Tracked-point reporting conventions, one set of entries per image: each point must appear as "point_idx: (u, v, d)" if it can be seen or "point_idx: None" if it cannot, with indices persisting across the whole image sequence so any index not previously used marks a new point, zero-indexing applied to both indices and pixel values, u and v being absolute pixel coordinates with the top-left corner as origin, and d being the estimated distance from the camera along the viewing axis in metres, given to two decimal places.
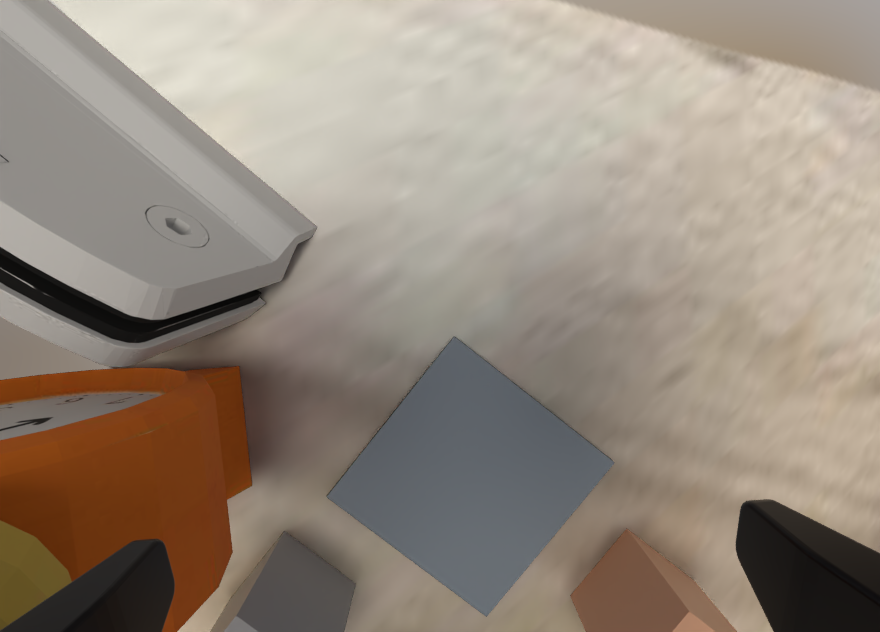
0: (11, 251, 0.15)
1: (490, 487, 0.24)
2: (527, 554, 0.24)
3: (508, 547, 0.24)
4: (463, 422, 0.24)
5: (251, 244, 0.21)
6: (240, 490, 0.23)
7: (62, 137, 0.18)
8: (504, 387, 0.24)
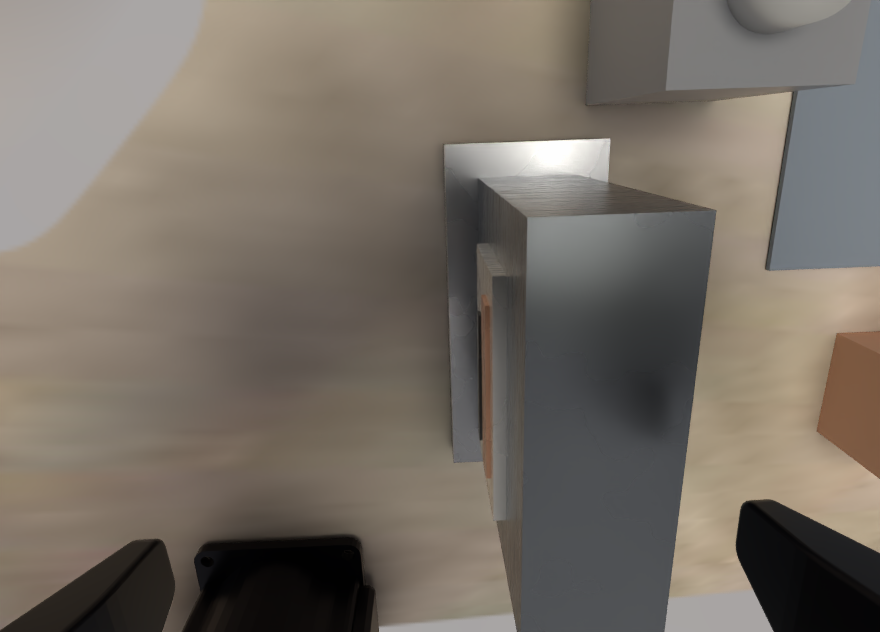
0: None
1: None
2: (870, 256, 0.19)
3: (867, 230, 0.18)
4: None
5: None
6: None
7: None
8: None
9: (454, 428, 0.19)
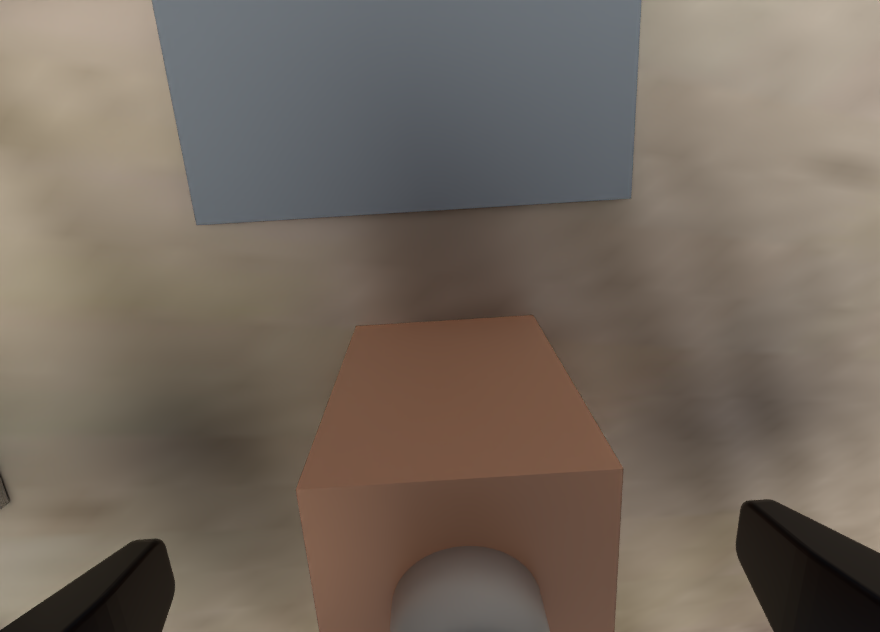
0: None
1: (414, 13, 0.10)
2: (359, 197, 0.11)
3: (340, 152, 0.11)
4: None
5: None
6: None
7: None
8: None
9: None
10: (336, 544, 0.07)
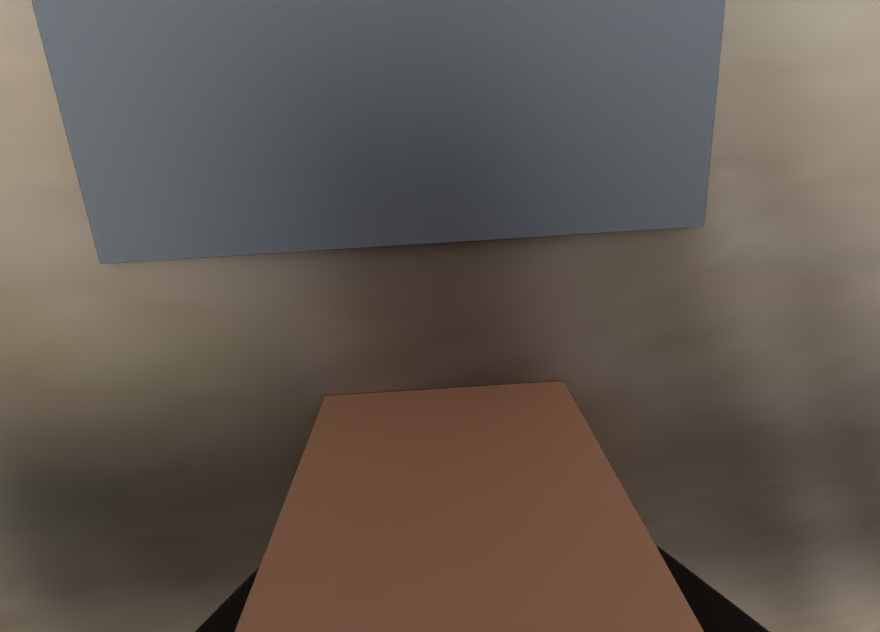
0: None
1: None
2: (326, 225, 0.08)
3: (298, 163, 0.08)
4: None
5: None
6: None
7: None
8: None
9: None
10: None
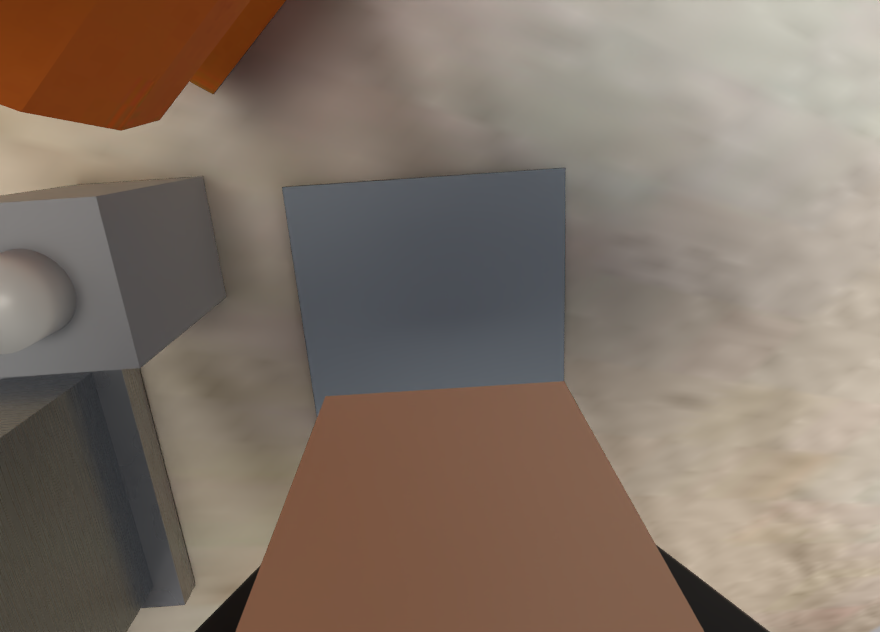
0: None
1: (443, 335, 0.19)
2: None
3: None
4: (484, 255, 0.18)
5: None
6: (198, 83, 0.16)
7: None
8: (553, 263, 0.18)
9: None
10: None
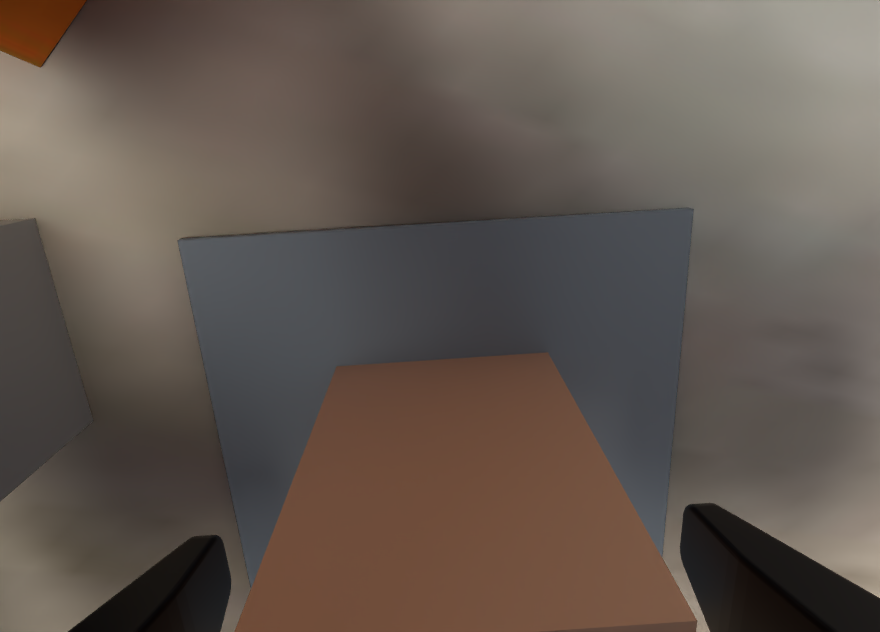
0: None
1: None
2: None
3: None
4: None
5: None
6: None
7: None
8: (658, 371, 0.11)
9: None
10: None
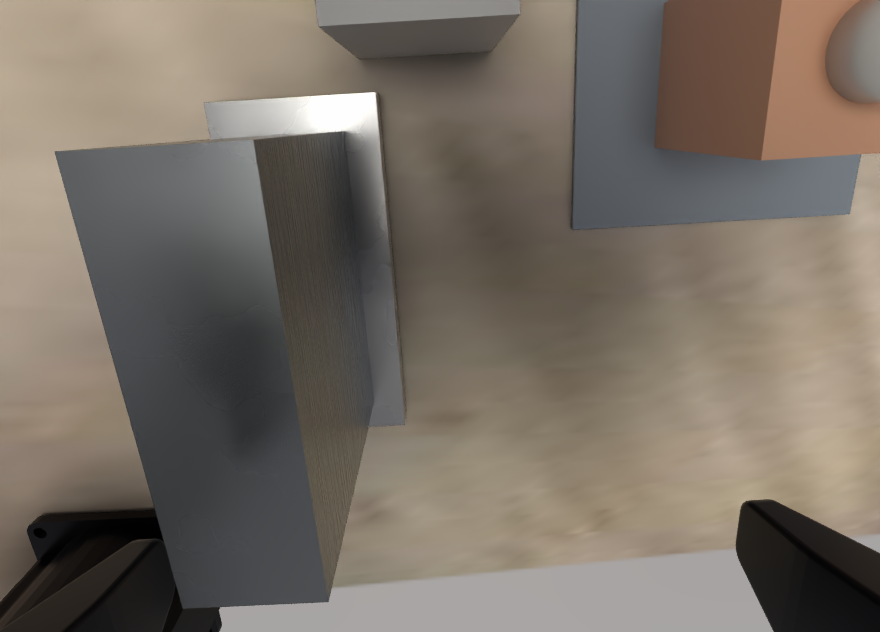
0: None
1: None
2: (678, 212, 0.18)
3: (671, 185, 0.18)
4: None
5: None
6: None
7: None
8: None
9: None
10: None
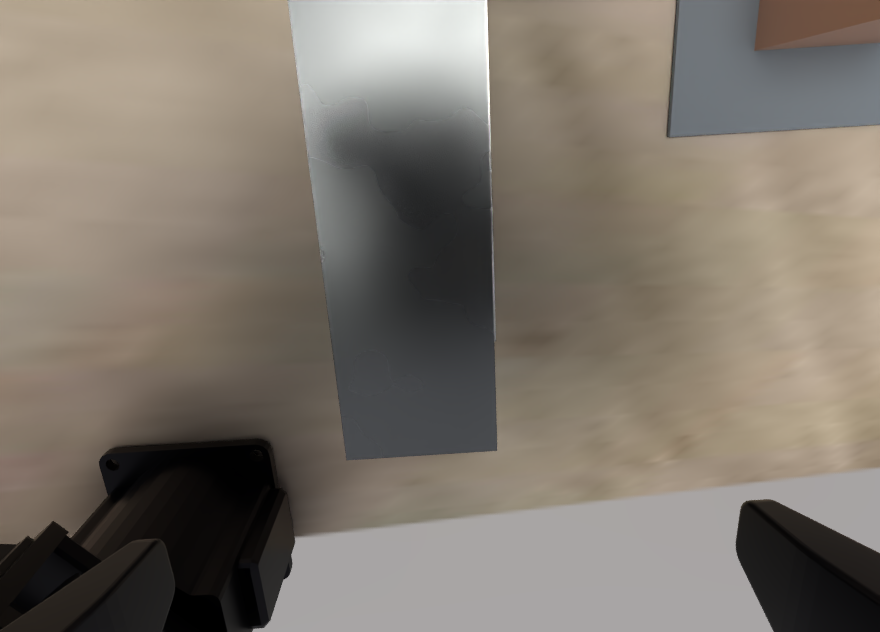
0: None
1: None
2: (774, 119, 0.18)
3: (768, 90, 0.18)
4: None
5: None
6: None
7: None
8: None
9: None
10: None
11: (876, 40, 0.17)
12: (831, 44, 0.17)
